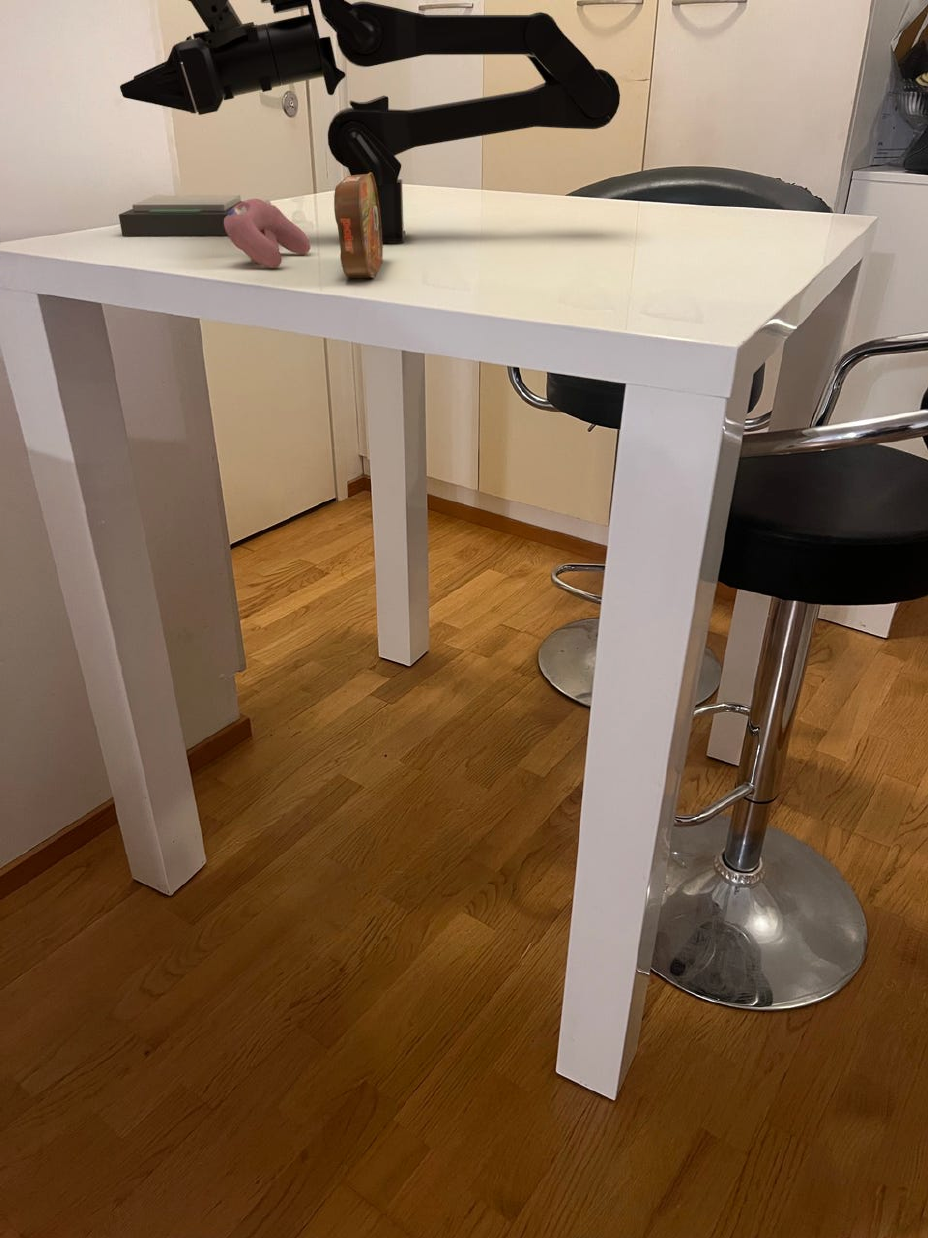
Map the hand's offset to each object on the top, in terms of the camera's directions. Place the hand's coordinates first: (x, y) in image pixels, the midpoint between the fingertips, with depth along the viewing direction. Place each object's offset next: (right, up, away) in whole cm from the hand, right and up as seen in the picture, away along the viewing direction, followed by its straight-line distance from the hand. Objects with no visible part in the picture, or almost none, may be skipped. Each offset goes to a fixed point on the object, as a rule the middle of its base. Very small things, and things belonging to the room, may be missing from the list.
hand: (128, 86), depth 98 cm
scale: (+1, -7, +19) cm, 20 cm away
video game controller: (+15, -19, -2) cm, 24 cm away
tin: (+25, -22, -7) cm, 34 cm away
